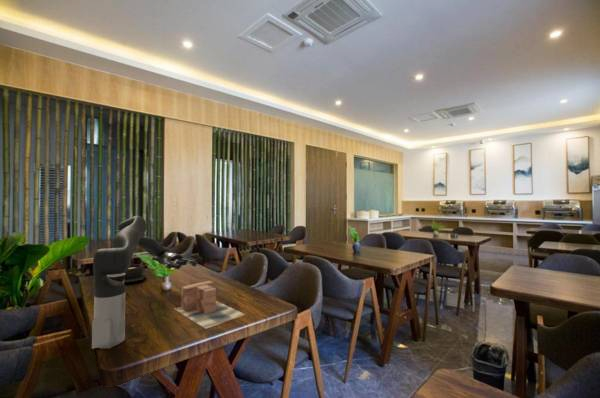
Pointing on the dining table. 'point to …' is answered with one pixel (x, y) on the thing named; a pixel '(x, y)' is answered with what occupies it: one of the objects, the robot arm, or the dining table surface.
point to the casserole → (134, 273)
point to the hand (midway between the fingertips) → (187, 265)
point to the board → (211, 315)
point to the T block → (199, 297)
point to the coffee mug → (117, 277)
